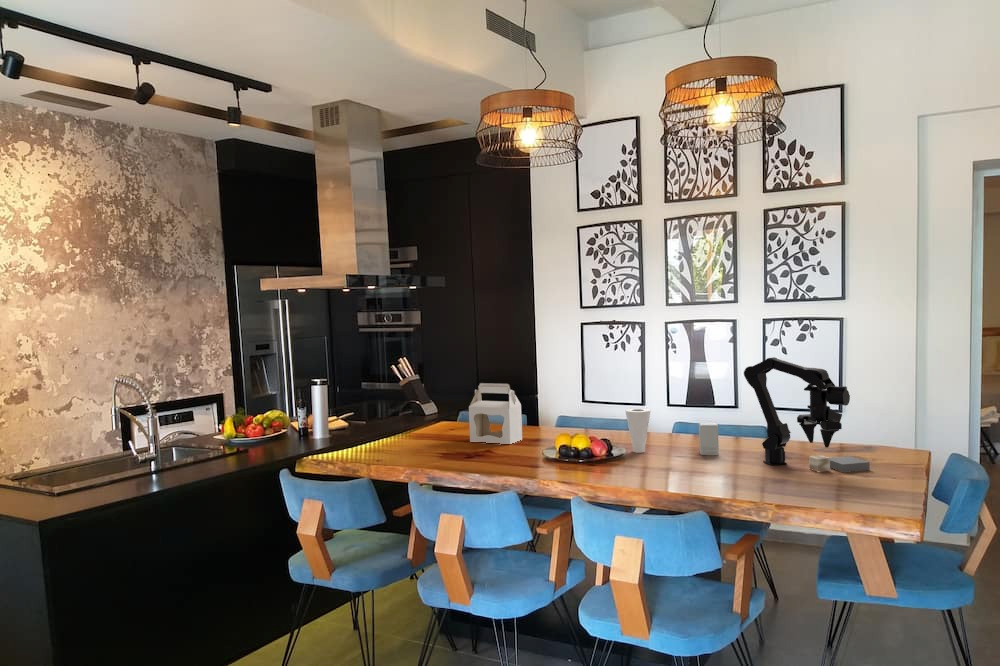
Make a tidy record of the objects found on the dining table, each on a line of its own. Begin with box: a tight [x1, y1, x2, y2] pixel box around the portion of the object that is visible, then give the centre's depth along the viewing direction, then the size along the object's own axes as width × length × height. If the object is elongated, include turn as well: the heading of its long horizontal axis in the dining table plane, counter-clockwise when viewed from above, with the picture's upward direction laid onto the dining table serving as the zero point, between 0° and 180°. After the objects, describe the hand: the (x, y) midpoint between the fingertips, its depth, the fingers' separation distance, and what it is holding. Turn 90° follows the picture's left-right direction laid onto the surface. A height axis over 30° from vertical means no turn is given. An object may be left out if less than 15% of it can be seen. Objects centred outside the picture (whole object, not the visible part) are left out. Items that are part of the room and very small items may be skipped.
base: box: [829, 455, 871, 473], centre depth 263 cm, size 11×11×3 cm
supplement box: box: [698, 422, 720, 456], centre depth 296 cm, size 7×7×13 cm
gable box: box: [468, 382, 523, 445], centre depth 338 cm, size 22×13×28 cm, turn 63°
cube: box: [808, 454, 831, 472], centre depth 261 cm, size 5×5×5 cm
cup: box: [625, 407, 651, 454], centre depth 304 cm, size 11×11×18 cm
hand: (818, 445), depth 261 cm, fingers open, 9 cm apart
